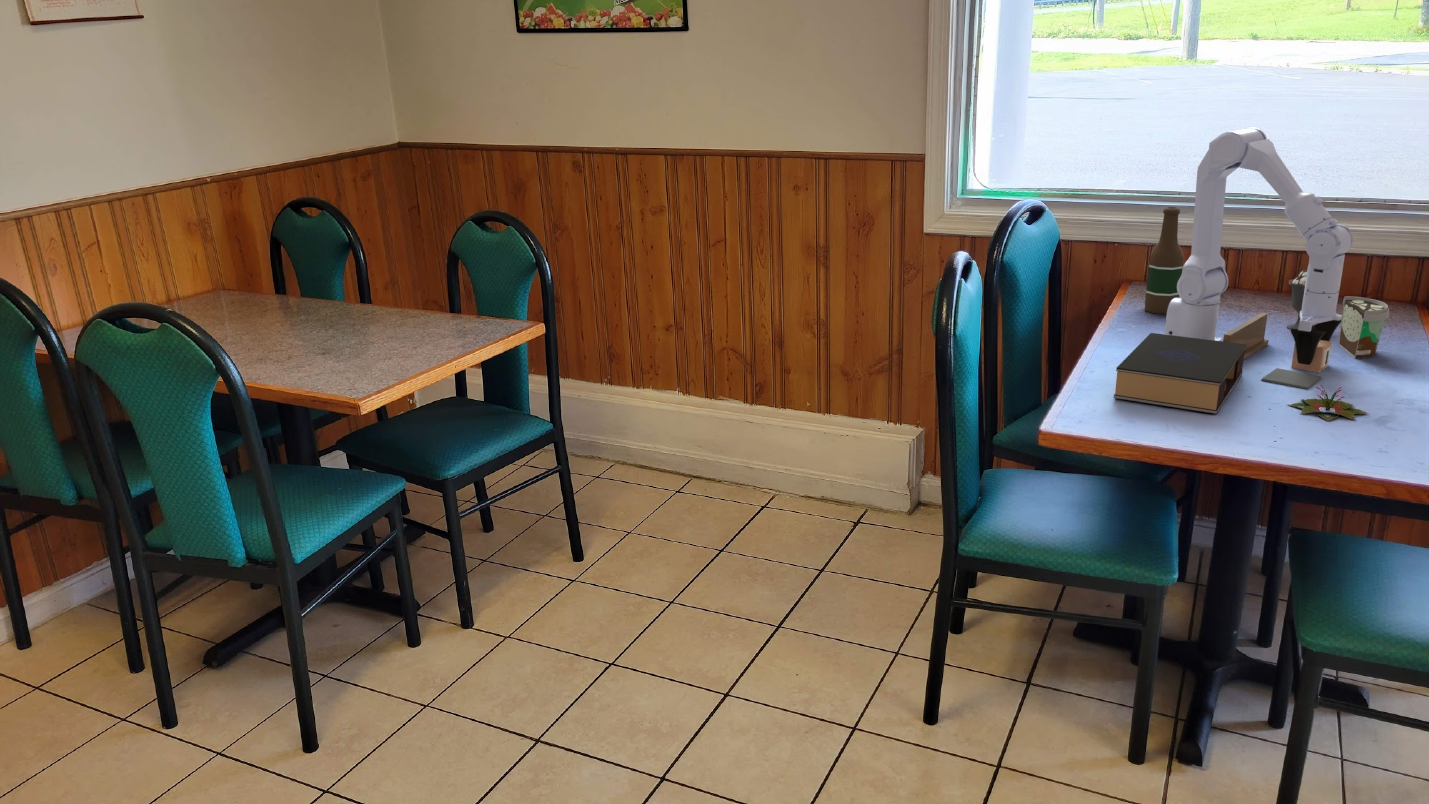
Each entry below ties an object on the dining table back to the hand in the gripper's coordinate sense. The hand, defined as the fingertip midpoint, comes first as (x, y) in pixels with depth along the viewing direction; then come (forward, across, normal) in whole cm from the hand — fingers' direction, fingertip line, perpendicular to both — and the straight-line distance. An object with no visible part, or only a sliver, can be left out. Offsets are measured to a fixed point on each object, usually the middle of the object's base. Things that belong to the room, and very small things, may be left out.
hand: (1310, 358), depth 202 cm
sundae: (+2, +26, +10) cm, 28 cm away
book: (+2, -27, +14) cm, 30 cm away
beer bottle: (+2, +23, +39) cm, 45 cm away
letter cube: (+2, 0, 0) cm, 2 cm away
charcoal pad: (+2, -10, 0) cm, 10 cm away
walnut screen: (+2, 0, +12) cm, 13 cm away
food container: (+2, +16, -5) cm, 17 cm away
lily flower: (+2, -23, -10) cm, 25 cm away
